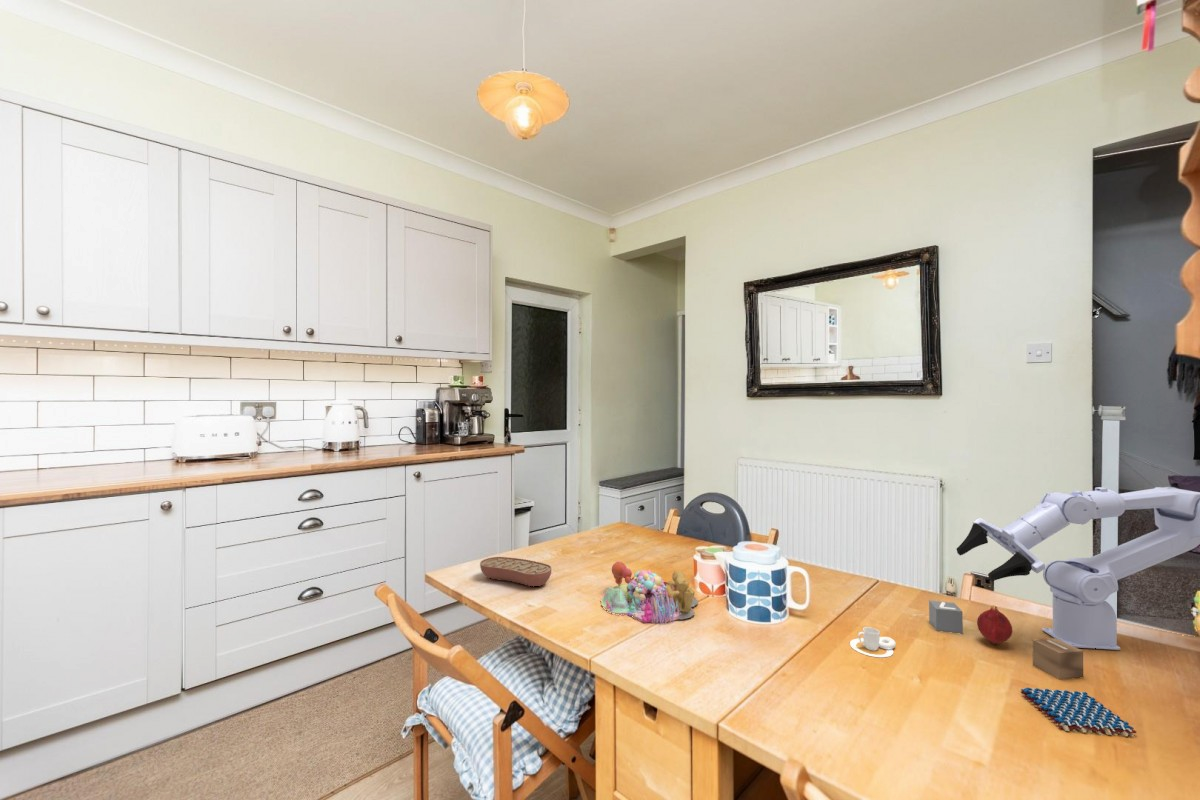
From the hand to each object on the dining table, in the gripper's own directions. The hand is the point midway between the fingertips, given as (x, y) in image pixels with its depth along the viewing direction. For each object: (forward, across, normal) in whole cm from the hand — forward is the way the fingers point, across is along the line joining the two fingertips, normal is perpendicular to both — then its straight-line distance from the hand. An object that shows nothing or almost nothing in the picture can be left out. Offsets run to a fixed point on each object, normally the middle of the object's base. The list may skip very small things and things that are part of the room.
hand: (973, 564), depth 108 cm
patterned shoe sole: (+98, -49, -22) cm, 112 cm away
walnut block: (+3, +20, +8) cm, 22 cm away
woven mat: (+10, +29, -3) cm, 31 cm away
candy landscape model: (+67, -26, -12) cm, 73 cm away
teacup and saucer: (+27, +7, -2) cm, 28 cm away
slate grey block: (+11, +2, +13) cm, 17 cm away
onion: (+7, +10, +11) cm, 16 cm away
